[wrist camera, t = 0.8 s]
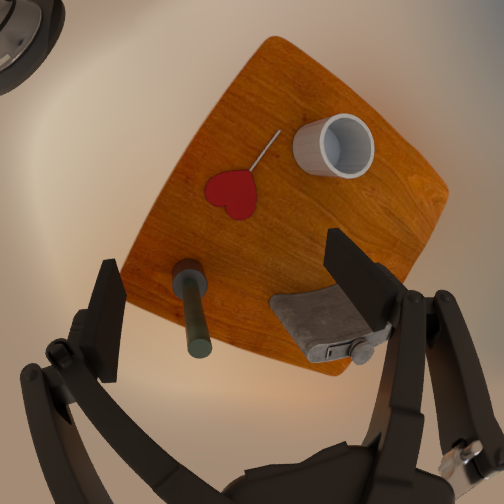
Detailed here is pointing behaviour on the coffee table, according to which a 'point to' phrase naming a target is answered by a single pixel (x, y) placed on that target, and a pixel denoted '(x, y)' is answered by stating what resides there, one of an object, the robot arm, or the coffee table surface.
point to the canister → (334, 147)
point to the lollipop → (235, 190)
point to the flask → (327, 325)
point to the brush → (193, 305)
